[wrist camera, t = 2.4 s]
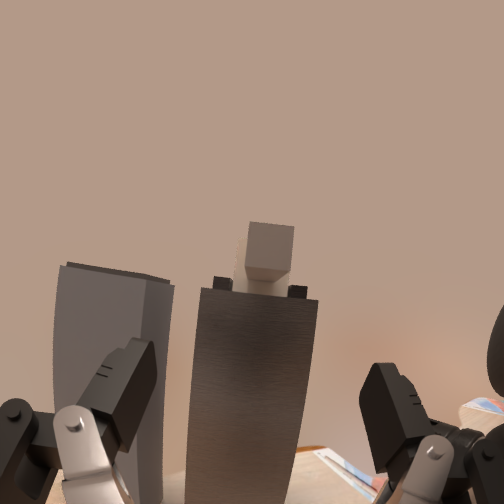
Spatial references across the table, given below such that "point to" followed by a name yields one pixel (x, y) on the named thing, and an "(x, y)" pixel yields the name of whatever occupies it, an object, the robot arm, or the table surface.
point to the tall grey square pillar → (107, 340)
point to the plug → (264, 260)
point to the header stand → (247, 393)
